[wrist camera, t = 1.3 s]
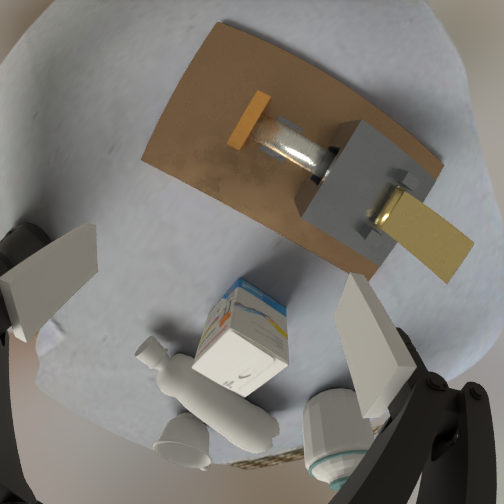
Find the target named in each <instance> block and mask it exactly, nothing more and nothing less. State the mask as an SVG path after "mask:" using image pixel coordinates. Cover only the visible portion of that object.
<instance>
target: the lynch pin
mask: <svg viewBox="0 0 504 504" xmlns="http://www.w3.org/2000/svg"><path fill="white" fill-rule="evenodd" d="M270 102H271V96H269V95H267V94H265V93H263V92H261V91H259V90H257V92H256V94H255V95H254V97H253V99H252V100H251V102H250V104H249V105H248V107H247V109H246V110H245V112H244V114H243V115H242V117H241V119H240V121H239V122H238V124H237V126H236V128H235V129H234V131H233V133H232V135H231V136H230V138H229V140H228V142H227V144H228V145H230V146H232V147H234V148H236V149H238V150H242V149H243V148H244V147H245V145H246V143H247V141H248V140H249V138H252V139H254V140H255V141H257V142H259V143H261V144H263V145H265V146H266V147H268V148H270V149H272V150H274V151H275V152H277V153H279V154H281V155H282V156H284V157H286V158H288V159H289V160H291V161H293V162H294V163H296V164H298V165H299V166H301V167H303V168H304V169H306V170H308V171H309V172H311V173H313V174H314V175H316V176H317V177H319V178H321V179H322V178H323V176H324V175H325V173H326V172H327V170H328V168H329V167H330V165H331V163H332V162H333V160H334V159H335V157H336V155H334V154H333V153H331V152H330V151H328V150H327V149H325V148H324V147H322V146H320V145H319V144H317V143H316V142H314V141H312V140H311V139H309V138H307V137H306V136H304V135H302V134H301V133H299V132H297V131H296V130H294V129H292V128H290V127H289V126H287V125H285V124H283V123H282V122H280V121H278V120H276V119H275V118H273V117H271V116H269V115H267V114H265V113H264V112H265V111H266V109H267V107H268V106H269V104H270Z"/></svg>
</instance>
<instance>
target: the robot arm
mask: <svg viewBox="0 0 504 504" xmlns="http://www.w3.org/2000/svg"><path fill="white" fill-rule="evenodd" d="M97 272H98V265H97V245H96V225H95V224H89V223H83V224H82V225H80V226H78V227H76V228H75V229H73V230H71V231H70V232H68V233H66V234H65V235H63V236H61V237H60V238H58V239H56V240H55V241H53V242H51V241H50V239H49V238H48V237H47V235H46V234H45V233H44V232H43V231H42V230H41V229H39V228H38V227H37V226H35V225H33V224H30V223H22V224H20V225H18V226H16V227H14V228H12V229H11V230H10V231H9V232H8V233H7V234H6V236H5V237H4V238H3V239H2V240H1V241H0V504H43V503H41V502H39V501H36V498H35V496H34V494H33V492H32V490H31V489H30V487H29V486H28V484H27V483H26V480H25V478H24V476H23V472H22V468H21V464H20V459H19V455H18V450H17V444H16V439H15V433H14V427H13V419H12V412H11V411H12V410H11V400H10V387H9V334H8V331H7V329H8V328H9V327H10V326H12V329H13V332H14V334H15V337H17V338H19V339H20V340H22V341H24V342H26V343H28V341H29V340H30V339H31V338H32V337H33V336H34V335H35V334H36V333H37V332H38V331H39V330H40V328H41V327H42V326H43V325H44V324H45V323H46V322H47V321H48V320H49V319H50V318H51V317H52V316H53V315H54V314H55V313H56V312H57V311H58V310H59V309H60V308H61V307H62V306H63V305H64V304H65V303H66V302H67V301H68V300H69V299H70V298H71V297H72V296H73V295H74V294H75V293H76V292H77V291H78V290H79V289H80V288H81V287H82V286H83V285H84V284H85V283H86V282H87V281H88V280H89V279H90V278H92V277H93V276H94V275H95V274H96V273H97ZM333 318H334V321H335V325H336V328H337V331H338V334H339V337H340V340H341V344H342V347H343V350H344V354H345V357H346V360H347V364H348V367H349V370H350V374H351V377H352V381H353V384H354V388H355V391H356V395H357V399H358V402H359V406H360V410H361V414H362V418H380V417H381V416H382V415H383V413H384V412H385V411H386V409H387V408H388V410H389V413H390V417H389V418H388V419H387V420H386V422H385V423H384V424H383V425H382V426H381V428H380V429H379V430H378V431H377V432H378V433H379V434H378V436H377V437H376V439H375V440H374V442H373V443H372V445H371V447H370V448H369V450H368V451H367V453H366V454H365V456H364V457H363V459H362V460H361V461H360V463H359V464H358V466H357V467H356V469H355V470H354V471H353V473H352V474H351V476H350V477H349V478H348V480H347V481H346V482H345V484H344V485H343V486H342V487H341V489H340V490H339V492H338V493H337V494H336V495H335V496H334V497H333V499H332V500H331V501H330V502H329V503H328V504H407V502H408V500H409V498H410V496H411V494H412V492H413V490H414V488H415V486H416V484H417V481H418V479H419V477H420V474H421V472H422V477H421V482H420V488H419V493H418V497H417V502H416V504H496V491H497V480H496V479H497V477H496V476H497V475H496V452H495V440H494V431H493V423H492V416H491V409H490V404H489V398H488V395H487V392H486V391H485V389H484V388H483V387H482V386H481V385H480V384H477V383H475V382H467V383H466V384H465V386H464V387H463V388H462V389H461V391H460V390H455V389H451V388H449V387H448V384H447V382H446V381H445V380H444V378H443V377H441V376H440V375H438V374H437V373H434V372H429V371H428V370H427V368H426V367H425V365H424V363H423V361H422V359H421V358H420V356H419V354H418V352H417V351H416V349H415V347H414V345H412V342H411V340H410V338H409V337H408V335H407V334H406V333H405V332H404V331H403V330H402V329H400V328H397V327H395V326H394V324H393V322H392V321H391V319H390V317H389V316H388V314H387V312H386V311H385V309H384V307H383V305H382V304H381V302H380V300H379V299H378V297H377V296H376V294H375V292H374V291H373V289H372V287H371V286H370V284H369V283H368V281H367V279H366V278H365V276H364V275H362V274H357V273H351V272H350V274H349V277H348V279H347V282H346V285H345V288H344V291H343V293H342V296H341V299H340V302H339V304H338V307H337V310H336V312H335V315H334V317H333ZM457 435H458V437H457Z"/></svg>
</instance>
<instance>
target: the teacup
mask: <svg viewBox="0 0 504 504" xmlns="http://www.w3.org/2000/svg"><path fill="white" fill-rule="evenodd" d="M203 423H204V422H203V421H202V420H201V419H199V418H198V417H197V416H195V415H194V414H192V413H181V414H179V415H178V417H176V418H173V419H172V420H170V421H169V422H168V424H167V425H166V427H165V429H164V431H163V433H162V435H161V437H160V439H159V441H158V442H156V443H154V444H153V449H154V451H155V453H156V454H157V455H158V456H160V457H161V458H163V459H164V460H166V461H168V462H170V463H173V464H176V465H179V466H183V467H189V468H200V469H201V470H208V469H209V468H210V466H211V463H212V459H211V457H210V456H209V432H208V429H207V427H206V426H205V425H204V424H203Z"/></svg>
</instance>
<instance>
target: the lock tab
mask: <svg viewBox="0 0 504 504" xmlns="http://www.w3.org/2000/svg"><path fill="white" fill-rule="evenodd" d="M373 224H374V225H375V226H376V227H377V228H379V229H380V230H382V231H384V232H386V233H387V234H388V235H390V236H391V237H392V238H393V239H395V240H396V241H397V242H398V243H400V244H401V245H402V246H403V247H404V248H406V249H407V250H408V251H409V252H410V253H412V254H413V255H414V256H415V257H416V258H418V259H419V260H420V261H421V262H422V263H423V264H425V265H426V266H427V267H428V268H429V269H430V270H432V271H433V272H434V273H435V274H436V275H437V276H438V277H439V278H441V279H442V280H443V281H444V282H445V283H446V284H448V282H449V281H450V280H451V278H452V277H453V275H454V274H455V272H456V271H457V270H458V268H459V267H460V265H461V264H462V262H463V261H464V259H465V258H466V256H467V255H468V253H469V251H470V250H471V248H472V247H473V245H474V242H473V241H472V240H470V239H469V238H468V237H467V236H466V235H464V234H463V233H462V232H461V231H459V230H458V229H457V228H455V227H454V226H453V225H452V224H450V223H449V222H448V221H446V220H445V219H444V218H442V217H441V216H440V215H438V214H437V213H436V212H434V211H433V210H432V209H430V208H429V207H427V206H426V205H425V204H423V203H422V202H420V201H419V200H417V199H416V198H414V197H413V196H411V195H410V194H409V193H408V192H407V191H406V190H404V189H403V188H402V187H400V186H398V185H397V187H396V188H395V190H394V192H393V193H392V195H391V196H390V198H389V200H388V201H387V203H386V204H385V206H384V207H383V209H382V211H381V212H380V214H379V215H378V217H377V218H376V220H375V221H374V223H373Z"/></svg>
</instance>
